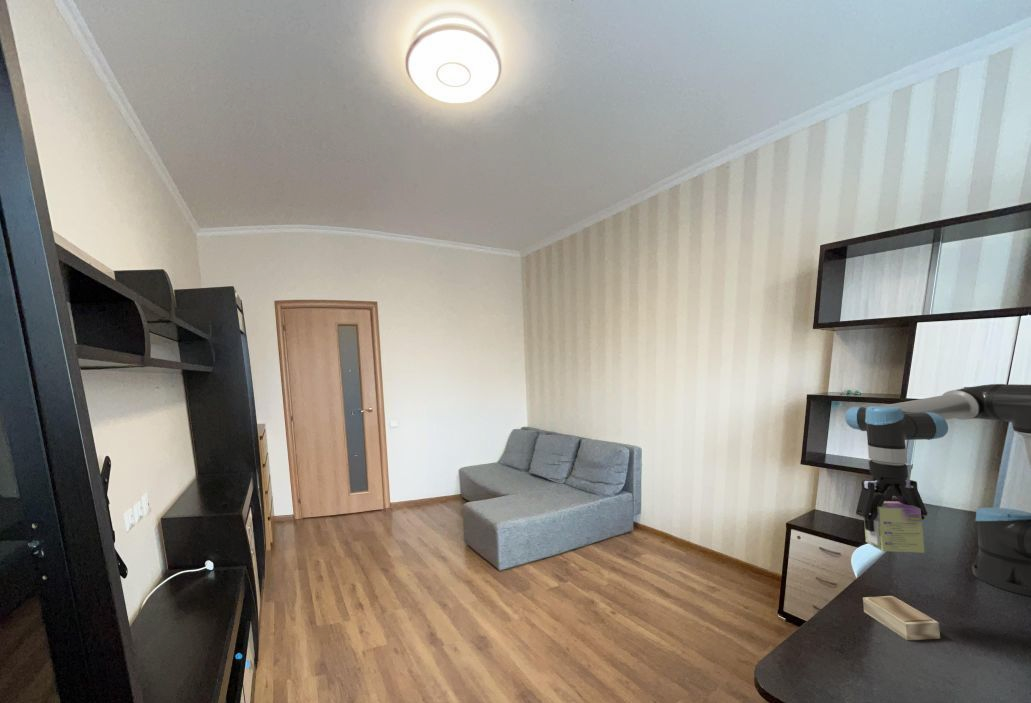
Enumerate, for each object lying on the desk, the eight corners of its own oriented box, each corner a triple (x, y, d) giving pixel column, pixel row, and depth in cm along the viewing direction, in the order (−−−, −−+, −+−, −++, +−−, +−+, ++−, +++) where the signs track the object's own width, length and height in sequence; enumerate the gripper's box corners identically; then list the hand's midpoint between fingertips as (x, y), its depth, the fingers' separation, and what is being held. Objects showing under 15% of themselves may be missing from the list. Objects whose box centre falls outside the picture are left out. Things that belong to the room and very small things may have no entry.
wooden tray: (893, 610, 103) (892, 594, 104) (940, 638, 92) (938, 621, 93) (863, 611, 103) (862, 596, 103) (907, 640, 92) (905, 623, 92)
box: (904, 543, 101) (901, 500, 102) (925, 553, 96) (921, 508, 96) (864, 542, 102) (861, 500, 103) (883, 552, 97) (879, 507, 97)
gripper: (911, 457, 104) (917, 533, 103) (835, 459, 103) (840, 537, 102) (943, 463, 97) (950, 546, 96) (861, 466, 96) (867, 550, 95)
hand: (893, 541), depth 99 cm, fingers closed on box, 11 cm apart
